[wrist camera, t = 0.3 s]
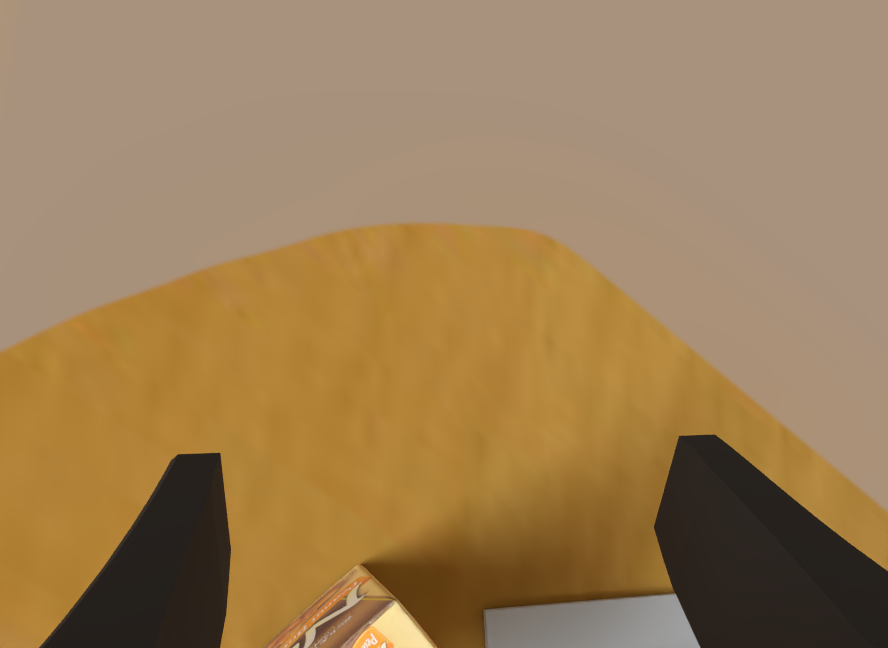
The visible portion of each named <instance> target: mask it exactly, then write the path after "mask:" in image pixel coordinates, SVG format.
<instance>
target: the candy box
mask: <svg viewBox="0 0 888 648" xmlns="http://www.w3.org/2000/svg"><path fill="white" fill-rule="evenodd" d="M264 648H438V647H437V645H436V644H435V642H434V641H433V640H432V639H431V638H430V637H429V636H428V634H427V633H426V632H425V631H424V629H423V628H422V627H421V626H420V625H419V623H418V622H417V621H416V620H415V619H414V618H413V616H412V615H411V614H410V613H409V612H408V611H407V610H406V608H405V607H404V606H403V605H402V604H401V603H400V602H399V600H398V599H397V598H395V597H394V596H393V595H392V594H391V593H390V592H389V591H388V590H387V589H386V588H385V587H384V586H383V585H382V584H381V583H380V582H379V581H378V580H377V579H376V578H375V577H374V576H373V575H372V574H370V573H369V572H368V570H367V569H366V568H364V567H363V566H362V565H356V566H355V567H354V568H353V569H352V570H350V571H349V572H348V573H347V574H346V575H344V576H343V577H342V578H341V579H340V580H339V581H337V582H336V583H335V584H334V585H333V586H332V587H330V588H329V589H328V590H327V591H326V592H325V593H324V594H323V595H321V596H320V597H319V598H318V599H317V600H316V601H315V602H314V603H312V604H311V605H310V606H309V607H308V608H307V609H306V610H305V611H304V612H302V613H301V614H300V615H299V616H298V617H297V618H296V619H295V620H294V621H292V622H291V623H290V624H289V625H288V626H287V627H286V628H285V629H284V630H282V631H281V632H280V633H279V634H278V635H277V636H276V637H275V638H274V639H273V640H271V641H270V642H269V643H268V644H267V645H266V646H265V647H264Z"/></svg>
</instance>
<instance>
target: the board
mask: <svg viewBox="0 0 888 648" xmlns="http://www.w3.org/2000/svg"><path fill="white" fill-rule="evenodd" d="M483 616H484V631H485V647H486V648H700V646H699V644H698V642H697V640H696V637H695V635H694V633H693V631H692V629H691V627H690V624H689V622H688V620H687V618H686V615H685V613H684V611H683V609H682V607H681V604H680V602H679V600H678V598H677V596H676V593H668V594H657V595H645V596H633V597H622V598H610V599H598V600H587V601H575V602H563V603H552V604H540V605H529V606H517V607H505V608H494V609H483Z"/></svg>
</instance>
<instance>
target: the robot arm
mask: <svg viewBox="0 0 888 648" xmlns="http://www.w3.org/2000/svg"><path fill="white" fill-rule="evenodd" d="M654 529H655V532H656V536H657V539H658V542H659V546H660V549H661V553H662V556H663V559H664V562H665V565H666V569H667V572H668V575H669V578H670V581H671V584H672V586H673V589H674V591H675V593H676V596H677V598H678V600H679V602H680V604H681V607H682V609H683V611H684V613H685V615H686V618H687V620H688V622H689V624H690V627H691V629H692V631H693V633H694V635H695V637H696V640H697V642H698V644H699V646H700V648H888V571H887V570H885V569H884V568H882V567H881V566H880V565H878V564H877V563H876V562H874V561H873V560H872V559H870V558H869V557H867V556H866V555H865V554H863V553H862V552H861V551H859V550H858V549H856V548H855V547H854V546H852V545H851V544H850V543H848V542H847V541H846V540H844V539H843V538H842V537H841V536H839V535H838V534H837V533H835V532H834V531H833V530H831V529H830V528H829V527H828V526H826V525H825V524H824V523H823V522H821V521H820V520H819V519H818V518H816V517H815V516H814V515H813V514H811V513H810V512H809V511H808V510H806V509H805V508H804V507H803V506H801V505H800V504H799V503H798V502H797V501H795V500H794V499H793V498H792V497H790V496H789V495H788V494H787V493H786V492H784V491H783V490H782V489H781V488H780V487H778V486H777V485H776V484H775V483H774V482H772V481H771V480H770V479H769V478H768V477H766V476H765V475H764V474H763V473H762V472H760V471H759V470H758V469H757V468H756V467H754V466H753V465H752V464H751V463H750V462H748V461H747V460H746V459H745V458H744V457H742V456H741V455H740V454H739V453H738V452H736V451H735V450H734V449H733V448H731V447H730V446H729V445H728V444H727V443H725V442H724V441H723V440H721V439H720V438H719V437H717V436H716V435H692V436H679V439H678V442H677V446H676V449H675V453H674V457H673V460H672V464H671V467H670V471H669V475H668V478H667V482H666V485H665V489H664V493H663V496H662V500H661V504H660V507H659V511H658V514H657V518H656V522H655V525H654ZM230 555H231V546H230V537H229V528H228V519H227V510H226V501H225V492H224V483H223V474H222V465H221V456H220V453H204V454H178V455H177V456H176V457H175V458H173V459H172V460H171V462H170V463H169V465H168V467H167V469H166V471H165V473H164V475H163V476H162V478H161V480H160V481H159V483H158V485H157V487H156V488H155V490H154V492H153V493H152V495H151V497H150V498H149V500H148V502H147V503H146V505H145V506H144V508H143V510H142V511H141V513H140V514H139V516H138V517H137V519H136V521H135V522H134V524H133V525H132V527H131V528H130V530H129V531H128V533H127V534H126V535H125V537H124V538H123V540H122V541H121V543H120V544H119V546H118V547H117V548H116V550H115V551H114V553H113V554H112V556H111V557H110V559H109V560H108V562H107V563H106V564H105V566H104V567H103V569H102V570H101V571H100V573H99V574H98V575H97V577H96V578H95V579H94V580H93V582H92V583H91V584H90V586H89V587H88V588H87V589H86V591H85V592H84V593H83V595H82V596H81V597H80V599H79V600H78V601H77V602H76V604H75V605H74V606H73V608H72V609H71V610H70V611H69V613H68V614H67V615H66V617H65V618H64V619H63V620H62V621H61V623H60V624H59V625H58V626H57V627H56V629H55V630H54V631H53V632H52V633H51V635H50V636H49V637H48V638H47V639H46V640H45V642H44V643H43V644H42V645H41V646H40V647H39V648H220V644H221V638H222V633H223V628H224V622H225V617H226V608H227V596H228V583H229V569H230Z"/></svg>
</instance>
